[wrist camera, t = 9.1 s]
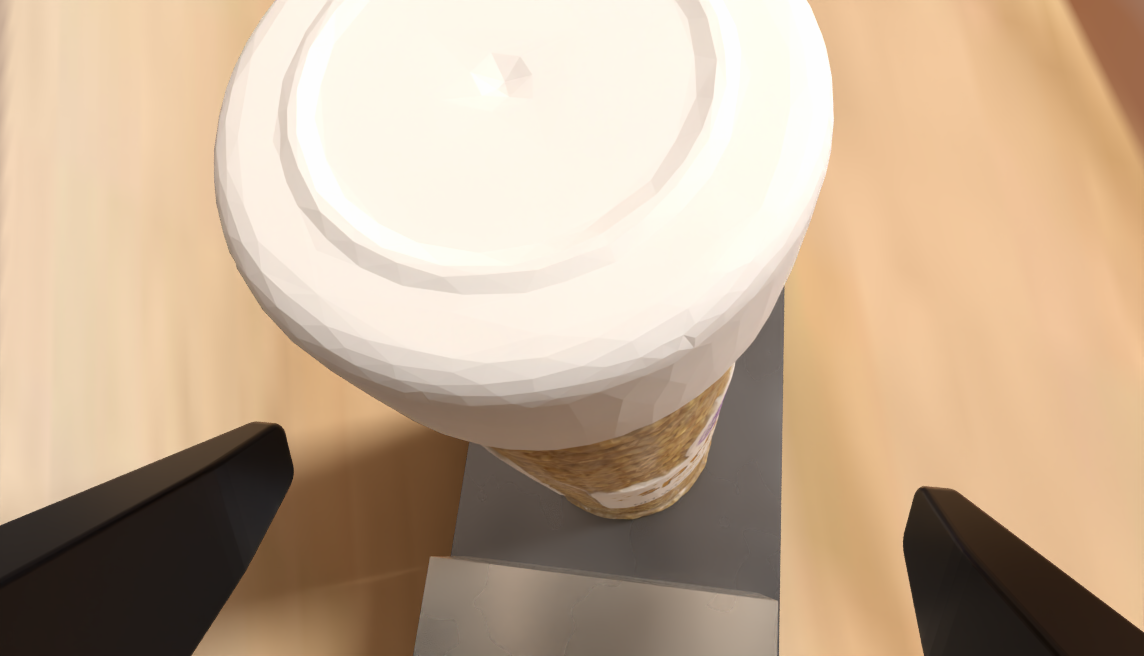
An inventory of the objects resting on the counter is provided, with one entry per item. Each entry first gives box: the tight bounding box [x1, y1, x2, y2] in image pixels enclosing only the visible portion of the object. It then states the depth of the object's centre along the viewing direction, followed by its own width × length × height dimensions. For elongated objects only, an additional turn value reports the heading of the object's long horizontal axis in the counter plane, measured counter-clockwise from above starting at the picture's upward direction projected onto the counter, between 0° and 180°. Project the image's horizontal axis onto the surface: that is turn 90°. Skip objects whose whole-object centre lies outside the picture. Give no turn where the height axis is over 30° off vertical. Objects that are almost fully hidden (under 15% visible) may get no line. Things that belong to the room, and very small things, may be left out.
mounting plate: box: [413, 287, 784, 656], centre depth 16 cm, size 26×8×4 cm, turn 173°
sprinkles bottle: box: [214, 0, 834, 519], centre depth 11 cm, size 5×5×14 cm
